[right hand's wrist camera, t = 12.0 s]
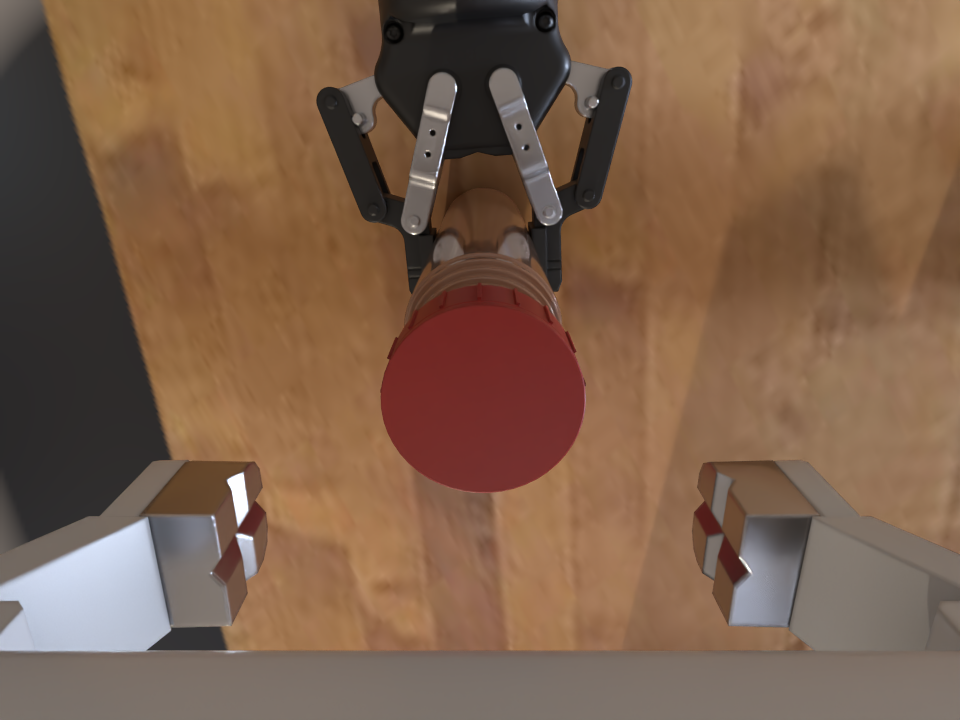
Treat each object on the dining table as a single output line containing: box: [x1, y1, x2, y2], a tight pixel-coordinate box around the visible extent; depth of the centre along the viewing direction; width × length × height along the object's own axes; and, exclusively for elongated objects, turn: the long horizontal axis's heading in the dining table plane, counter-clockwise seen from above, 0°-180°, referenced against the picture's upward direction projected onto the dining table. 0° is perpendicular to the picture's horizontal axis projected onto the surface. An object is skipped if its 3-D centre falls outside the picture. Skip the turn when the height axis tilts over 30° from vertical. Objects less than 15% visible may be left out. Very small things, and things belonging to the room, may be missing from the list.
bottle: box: [404, 188, 562, 326], centre depth 26 cm, size 4×4×24 cm
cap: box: [380, 283, 586, 493], centre depth 15 cm, size 4×4×2 cm
